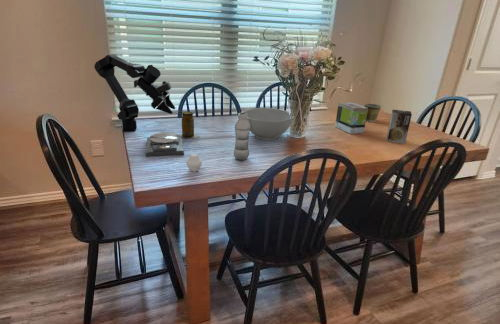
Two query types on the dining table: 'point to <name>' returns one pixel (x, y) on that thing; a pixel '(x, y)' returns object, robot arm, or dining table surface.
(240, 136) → the plastic bottle
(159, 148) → the scale base
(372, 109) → the ceramic cup
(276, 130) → the decorative bowl
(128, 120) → the robot arm
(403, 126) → the coffee box
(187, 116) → the condiment
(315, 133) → the dining table surface
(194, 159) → the white egg shape
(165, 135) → the scale pan
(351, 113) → the tea box
